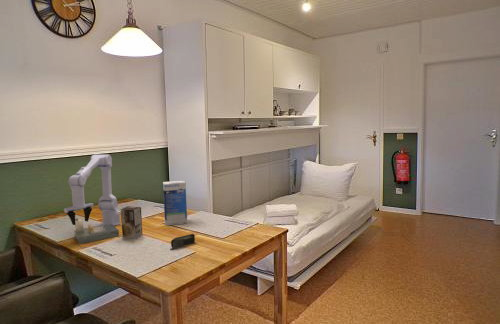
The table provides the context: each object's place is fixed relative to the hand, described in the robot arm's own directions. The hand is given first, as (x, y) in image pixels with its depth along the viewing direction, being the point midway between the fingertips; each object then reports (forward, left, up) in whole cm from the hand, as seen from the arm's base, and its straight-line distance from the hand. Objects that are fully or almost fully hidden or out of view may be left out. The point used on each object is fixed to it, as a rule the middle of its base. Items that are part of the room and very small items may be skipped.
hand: (80, 222), depth 182 cm
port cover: (-8, -1, -6) cm, 10 cm away
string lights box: (-53, +1, -10) cm, 54 cm away
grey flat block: (-8, -3, -10) cm, 13 cm away
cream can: (-1, -8, -6) cm, 10 cm away
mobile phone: (-40, +39, -10) cm, 57 cm away
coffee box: (-24, +9, -10) cm, 28 cm away
